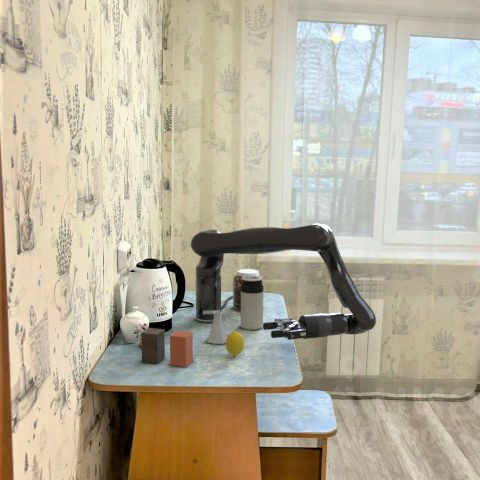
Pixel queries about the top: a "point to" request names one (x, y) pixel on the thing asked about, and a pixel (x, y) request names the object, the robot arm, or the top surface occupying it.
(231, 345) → the lemon
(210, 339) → the flask
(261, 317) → the travel mug
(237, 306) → the jar
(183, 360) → the terracotta block
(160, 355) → the walnut block
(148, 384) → the top surface
